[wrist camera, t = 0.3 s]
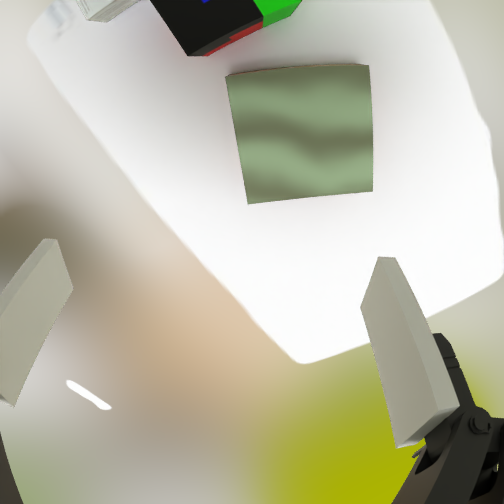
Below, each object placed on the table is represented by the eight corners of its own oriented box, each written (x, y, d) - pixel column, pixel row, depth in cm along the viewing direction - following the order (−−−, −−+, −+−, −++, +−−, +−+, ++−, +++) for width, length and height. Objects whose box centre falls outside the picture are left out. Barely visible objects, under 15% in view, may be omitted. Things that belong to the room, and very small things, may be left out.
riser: (229, 74, 30) (225, 76, 26) (356, 63, 28) (368, 65, 25) (249, 188, 38) (247, 204, 34) (361, 176, 36) (372, 191, 33)
